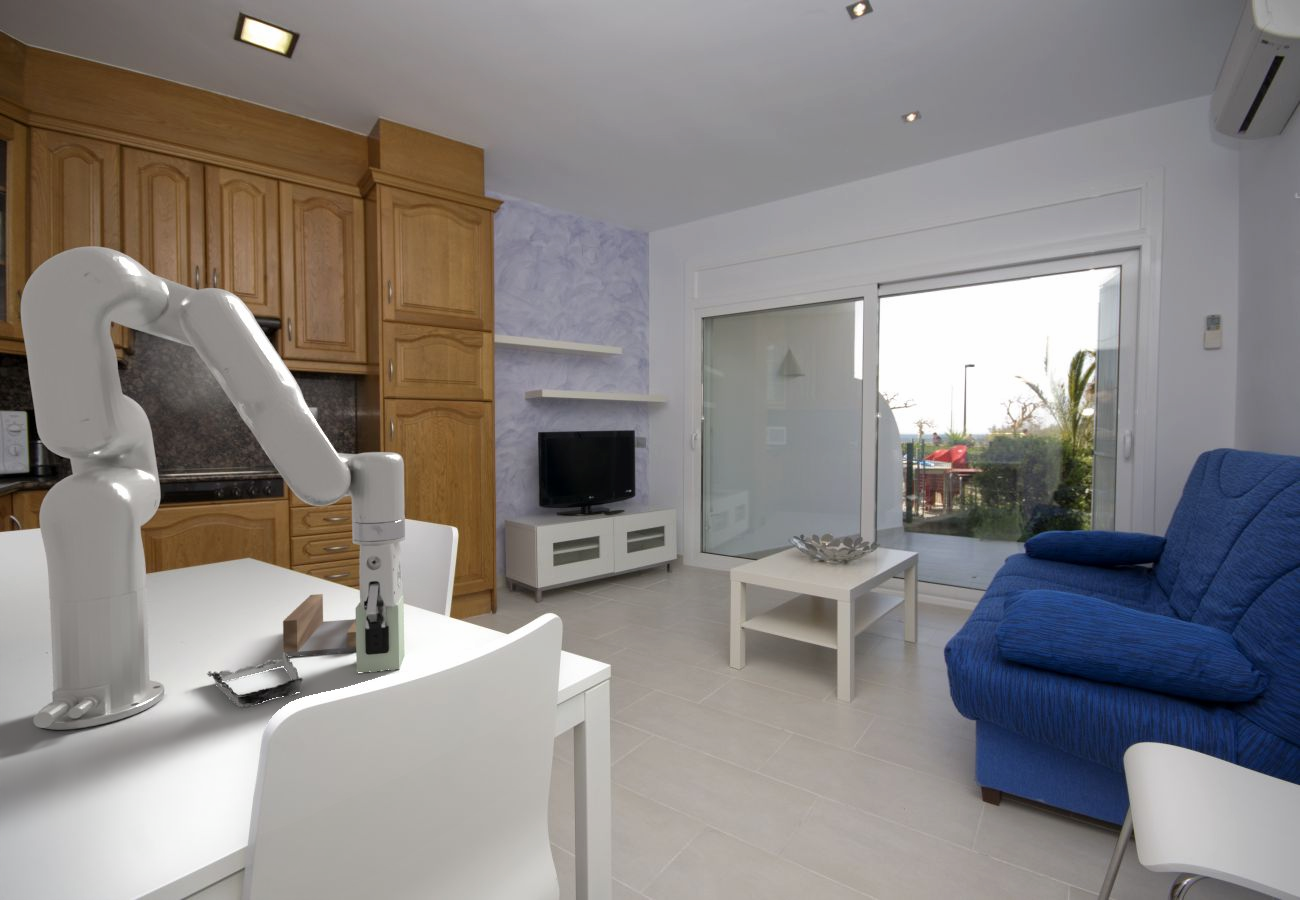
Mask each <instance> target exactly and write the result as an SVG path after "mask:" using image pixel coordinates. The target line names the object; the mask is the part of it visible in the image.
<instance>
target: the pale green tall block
mask: <svg viewBox="0 0 1300 900" xmlns="http://www.w3.org/2000/svg"><path fill="white" fill-rule="evenodd" d="M404 600H405V599H404V594H402V595H401V597H400V599H399V601H398V603H397V605H396V606H395V607H394V608H391V607H390V606H387V621H386V626H389V651H388V652H387V653H383V654H371V655H367V654H366V647H365V628H366V610H364V609H363V608H362V607H361V603H360V602H358V604H357V606H356V607H355V609H354V610H355V624H356V652H355V653H356V658H355V659H356V674H357V673H358V672H369V671H372V672H371V673H377V671H380V672H382V671H381V670H388V669H389V670H391V671H396V670H395V669H399V670H400V669H401V666H402V664H403V660H404V658H405V608H404V607H405V606H404V605H405V604H404V603H405V602H404ZM379 606H383V603H378V607H379ZM365 608H367V607H365ZM378 613H380V614H381V615H382V611H378Z"/></svg>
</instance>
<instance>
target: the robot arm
mask: <svg viewBox="0 0 1300 900" xmlns="http://www.w3.org/2000/svg"><path fill="white" fill-rule="evenodd" d="M20 320H21V321H20V322H21V330H22V334H23V340H24V346H25V347H24V348H25V353H26V359H27V366H28V367H27V368H28V377H29V382H30V389H31V396H32V402H33V403H32V404H33V409H34V417H35V424H36V429H37V430H36V431H37V434H38V437H39V439H40V441H41V443H42V444H43V445H44V446H45V447H46V448H47V450H49V451H50V452H51V453H54V454H56V455H58V456H60V457H63V458H66V459H69V460H70V465H71V471H72V474H70V475H68V476H66V477H64V478H63V479H61V480H60V481H58V482H57V483H55V484H54V485H53V486H52V487H51V488H50V489H49V490H48V491H47V493H46V494H45V496H44V497H43V499H42V502H41V505H40V508H39V509H40V510H39V527H40V529H39V530H40V534H41V538H42V542H43V547H44V551H45V556H46V564H47V575H48V595H49V596H48V597H49V607H50V608H49V609H50V613H49V614H50V635H51V639H50V640H51V659H52V660H51V661H52V683H53V684H52V686H53V691H52V693H51V694H52V701H51V702H50V703H47V704H45V706H43V707H42V708H41V709H40V710H39V711H38V712H37V714H35V715H34V718H33V720H32V721H33V724H34V726H36V727H37V728H40V729H41V728H43V729H47V730H54V731H55V730H59V731H60V730H61V731H62V730H63V731H64V730H76V729H85V728H90V727H95V726H100V725H104V724H108V723H111V722H116V721H119V720H122V719H124V718H125V719H126V718H128V717H131V716H134V715H136V714H138V713H141V712H143V711H145V710H148V709H149V708H151V707H153V706H155V705H157V704H158V702H159V701H161V700H162V699H163V698H164V696H165V686H164V684H162V683H161V682H159V681H157V680H156V681H155V680H150V653H149V652H150V650H149V649H150V648H149V623H148V621H149V618H148V615H149V614H148V586H147V571H146V558H145V557H146V556H145V551H144V545H143V539H142V531H141V527H142V526H144V525H145V524H146V523H148V522H149V521H150V520H152V518H153V516H155V514H157V511H158V509H159V506H160V503H161V484H160V477H159V472H158V471H159V470H158V466H157V465H158V464H157V457H156V453H155V446H154V445H155V444H154V437H153V432H152V428H151V424H150V420H149V418H148V415H147V414H146V412H145V410H144V409H143V408H142V406H141V405H140V404H139V403H138V402H136V401H135V400H134V399H133V398H131V397H130V396H128V395H126V394H124V393H123V391H122V390H123V389H122V384H121V380H120V379H121V378H120V374H119V369H118V368H119V367H118V357H117V352H116V349H115V346H114V342H113V340H112V339H113V338H112V335H111V325H112V322H113V323H114V324H118V325H120V326H123V327H126V328H130V329H133V330H137V331H139V332H143V333H145V334H149V335H152V336H155V337H159V338H162V339H165V340H169V341H172V342H175V343H178V344H181V345H185V346H188V347H192V348H194V350H195V351H196V353H197V354H198V355H199V357H200V358H201V360H202V362H203V363H205V365H206V367H207V368H208V369H209V371H210V373H211V374H212V375H213V376H214V377H213V378H215V380H216V381H217V383H218V384H219V386H220V387H221V389H222V390H223V391H224V393H225V394H226V396H227V397H228V399H229V400H230V402H231V403H232V406H234V407H235V409H236V411H237V412H238V414H239V416H240V418H241V419H242V421H243V422H244V423H245V424H246V426H247V427H248V428H249V430H250V431H251V433H252V434H253V436H254V437H255V438H256V441H257V442H258V443H259V445H260V447H261V448H262V450H263V451H264V452H265V455H266V456H267V457H268V458H269V460H270V462H271V463H272V465H273V466H274V467H275V469H276V471H278V473H279V474H280V476H281V478H282V479H283V481H284V482H285V483H286V485H287V486H288V488H289V489H290V490H291V491H292V492H293V494H294V496H296V497H297V498H298V499H299V500H300V501H302V502H304V503H305V504H308V505H310V506H313V507H325V506H326V507H327V506H331V505H333V504H335V503H337V502H339V501H340V500H341V499H342V498H345V497H351V526H352V527H351V530H352V533H351V534H352V543H353V544H354V545H357V546H359V558H358V559H359V603H361V607H362V608H363V609H364V610H366V628H365V647H366V654H367V655H371V654H383V653H387V652H388V651H389V626H386V621H387V606H390V607H391V608H394V607H395V606H396V605H397V603H398V601H399V599H400V597H401V595H403V591H404V588H403V586H404V585H403V573H402V572H403V570H402V554H401V553H402V552H401V543H400V542H403V541H405V540H406V516H405V514H406V513H405V505H406V504H405V463H404V459H403V456H402V455H400V454H399V453H397V452H393V451H392V452H389V451H388V452H387V451H382V452H381V451H371V452H370V451H369V452H361V453H356V454H355V453H342V452H338V451H337V450H336V449H335V448H334V446H333V444H332V443H331V441H330V440H329V438H328V437H327V435H326V434H325V432H324V431H323V430H322V428H321V426H320V424H318V422H317V420H316V418H315V417H314V415H313V414H312V411H311V410H310V408H309V406H308V404H307V402H306V400H305V399H304V395H303V392H302V390H301V387H300V386H299V384H298V382H297V381H296V378H295V377H294V376H293V374H292V372H291V371H290V370H289V368H288V367H287V365H286V364H285V362H284V361H283V359H282V358H281V356H280V355H279V353H278V351H276V349H275V347H274V345H273V344H272V343H271V342H270V339H269V338H268V336H267V335H266V334H265V332H264V331H263V328H261V326H260V324H259V323H258V322H257V320H256V318H255V316H254V314H253V313H252V311H251V310H250V308H248V307H247V305H246V304H245V302H243V301H242V299H241V298H239V296H237V295H235V294H234V293H232V292H230V291H228V290H225V289H222V288H218V287H217V288H215V287H206V288H200V289H196V288H192V287H189V286H186V285H185V284H181V283H178V282H176V281H173V280H170V279H168V278H165V277H161V276H159V275H156V274H153V273H152V272H151V271H150V270H148V269H147V268H146V267H145V266H144V265H142V263H140V262H139V261H137V260H135V259H134V258H132V257H131V256H129V255H127V254H126V253H122V252H121V251H118V250H115V249H112V248H109V247H103V246H95V245H93V246H92V245H90V246H80V247H74V248H71V249H68V250H64V251H62V252H60V253H58V254H57V253H56V255H53V256H52V257H50V258H48V259H47V260H45V261H44V262H43V263H41V264H40V265H39V266H38V267H36V269H35V270H34V272H33V273H32V274H31V275H30V277H29V278H28V280H27V282H26V283H25V286H24V289H23V291H22V294H21V300H20ZM378 603H383V606H379V607H378ZM365 607H367V608H365ZM378 611H382V615H381V614H380V613H378Z"/></svg>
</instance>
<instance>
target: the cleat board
mask: <svg viewBox="0 0 1300 900" xmlns="http://www.w3.org/2000/svg"><path fill="white" fill-rule="evenodd" d="M323 596H324V595H323V593H320V594H319V593H318V594H310V595H309V596H308V597H307V598H306V599H305V600H304V601H302V602H301V603H300V605H298V606H297V607H296V608H295V609H294V610H293V611H292V612H291V613H290V614H289V615H287V617H285V618H284V619H283V621H282V633H283V634H282V635H283V636H282V637H283V638H282V639H283V653H284V652H285V653H286V654H288V656H298V657H301V656H300V655H310V656H315V655H314V654H322V655H328V654H327V653H334V654H339V653H338V652H345V653H354V652H355V651H356V624H355V619H356V618H355V619H354V618H353V619H343V620H341V619H339V620H338V619H337V620H328V621H326V620H325V621H324V601H323V600H324V599H323V598H324V597H323ZM353 651H354V652H353ZM355 653H356V652H355Z"/></svg>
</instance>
